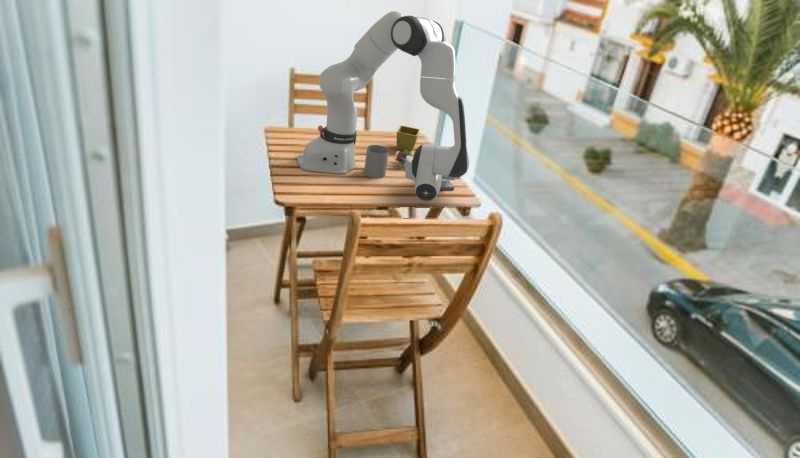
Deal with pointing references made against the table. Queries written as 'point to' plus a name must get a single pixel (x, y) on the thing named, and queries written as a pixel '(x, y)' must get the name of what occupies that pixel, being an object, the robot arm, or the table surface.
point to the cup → (376, 161)
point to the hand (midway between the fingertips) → (433, 159)
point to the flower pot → (407, 138)
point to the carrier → (446, 185)
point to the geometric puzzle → (402, 157)
